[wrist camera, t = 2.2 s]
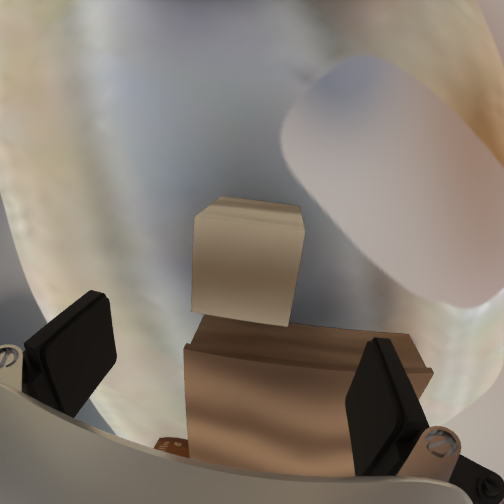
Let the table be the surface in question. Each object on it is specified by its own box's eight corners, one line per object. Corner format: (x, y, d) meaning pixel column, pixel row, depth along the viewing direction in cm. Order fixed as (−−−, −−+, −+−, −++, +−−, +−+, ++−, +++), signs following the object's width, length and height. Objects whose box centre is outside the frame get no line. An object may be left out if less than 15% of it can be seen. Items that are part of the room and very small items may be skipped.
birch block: (221, 196, 19) (194, 217, 14) (299, 206, 19) (305, 231, 13) (215, 267, 21) (191, 311, 15) (288, 278, 21) (287, 326, 15)
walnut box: (203, 307, 22) (183, 348, 17) (411, 332, 21) (433, 373, 16) (201, 423, 27) (190, 462, 22) (357, 439, 26) (362, 477, 21)
